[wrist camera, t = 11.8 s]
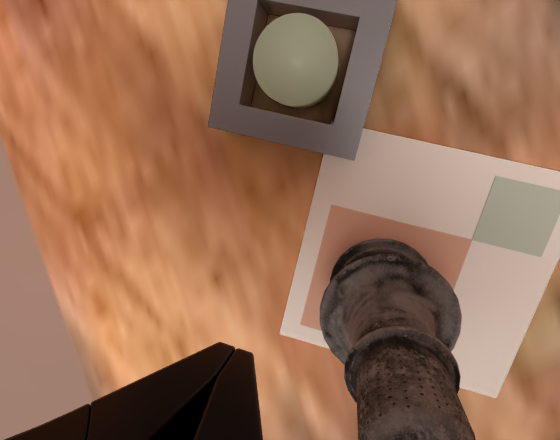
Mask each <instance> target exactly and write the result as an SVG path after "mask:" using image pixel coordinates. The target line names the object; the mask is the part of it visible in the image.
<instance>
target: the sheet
mask: <svg viewBox="0 0 560 440" xmlns="http://www.w3.org/2000/svg"><path fill="white" fill-rule="evenodd" d="M333 124H334V122H333V121H332V122H331V125H333ZM375 238H379V239H392V240H396V241H399V242H403V243H405V244H407V245H408V246H410V247H412V248H414V249H415V250H416V251H417V252H418V253H419V254H420V255H421V256H422V257H423V258H424V259H425V260H426V262H427V263H428V265H429V266H431V267H433V268H434V269H436V270H437V271H438V272H439V273H440V274H441V275H442V276H443V277H444V278H445V279H446V280H447V281H448V282H449V283H450V285H451V287H452V289H453V291H454V292H455V294H456V296H457V298H458V300H459V305H460V310H461V314H462V320H461V330H460V335H459V337H458V340H457V342H456V344H455V347H454V349H453V350H452V351H451V353H452V354H453V356H454V358H455V359H456V361H457V363H458V367H459V372H460V376H461V377H460V387H459V388H462V389H466V390H469V391H472V392H476V393H479V394H482V395H486V396H489V397H492V398H496V399H497V396H498V394H499V392H500V390H501V387H502V385H503V383H504V381H505V378H506V376H507V374H508V372H509V369H510V367H511V365H512V363H513V361H514V358H515V356H516V354H517V352H518V349H519V347H520V345H521V343H522V340H523V338H524V336H525V334H526V331H527V329H528V327H529V325H530V322H531V320H532V318H533V316H534V314H535V311H536V309H537V307H538V305H539V302H540V300H541V298H542V296H543V293H544V291H545V289H546V287H547V284H548V282H549V280H550V278H551V275H552V273H553V271H554V269H555V267H556V264H557V262H558V260H559V258H560V171H555V170H551V169H546V168H542V167H537V166H533V165H528V164H523V163H519V162H514V161H510V160H505V159H501V158H496V157H492V156H487V155H483V154H478V153H473V152H469V151H464V150H460V149H455V148H451V147H446V146H442V145H437V144H433V143H428V142H424V141H419V140H414V139H410V138H405V137H401V136H396V135H392V134H387V133H383V132H378V131H374V130H369V129H365V128H363V131H362V135H361V139H360V142H359V146H358V150H357V153H356V157H355V161H353V160H349V159H344V158H340V157H336V156H331V155H327V154H323V158H322V162H321V166H320V170H319V175H318V179H317V183H316V187H315V191H314V195H313V199H312V203H311V207H310V211H309V215H308V219H307V224H306V228H305V232H304V236H303V240H302V244H301V248H300V252H299V256H298V260H297V264H296V268H295V273H294V277H293V281H292V285H291V289H290V293H289V297H288V301H287V305H286V309H285V313H284V317H283V322H282V326H281V330H280V334H281V335H284V336H288V337H291V338H295V339H298V340H301V341H305V342H308V343H311V344H315V345H318V346H321V347H325V348H328V349H330V348H329V346H328V345H327V343H326V341H325V340H324V337H323V334H322V330H321V327H320V304H321V301H322V297H323V294H324V291H325V289H326V288H327V286H328V285H329V283H330V277H331V274H332V270H333V267H334V265H335V264H336V262H337V261H338V259H339V257H340V256H341V255H342V254H343V253H344V252H346V251H347V250H348V249H349V248H350V247H352V246H354V245H356V244H358V243H360V242H362V241H366V240H371V239H375Z"/></svg>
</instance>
